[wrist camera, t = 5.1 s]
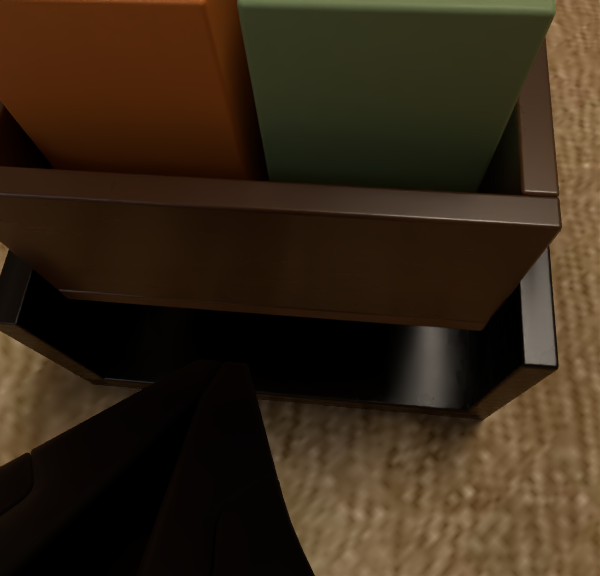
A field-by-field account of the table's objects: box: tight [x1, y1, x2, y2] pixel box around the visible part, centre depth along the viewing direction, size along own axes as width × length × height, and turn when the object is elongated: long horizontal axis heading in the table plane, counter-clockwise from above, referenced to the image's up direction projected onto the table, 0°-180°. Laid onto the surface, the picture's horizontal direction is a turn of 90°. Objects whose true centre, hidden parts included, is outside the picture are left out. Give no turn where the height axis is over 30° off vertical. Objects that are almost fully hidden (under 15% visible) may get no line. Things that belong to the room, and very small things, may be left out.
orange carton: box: [0, 0, 269, 181], centre depth 11 cm, size 4×4×9 cm
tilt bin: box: [0, 38, 562, 331], centre depth 13 cm, size 7×10×5 cm
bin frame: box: [0, 246, 559, 420], centre depth 17 cm, size 8×13×6 cm, turn 84°
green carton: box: [237, 0, 556, 193], centre depth 10 cm, size 4×4×9 cm
